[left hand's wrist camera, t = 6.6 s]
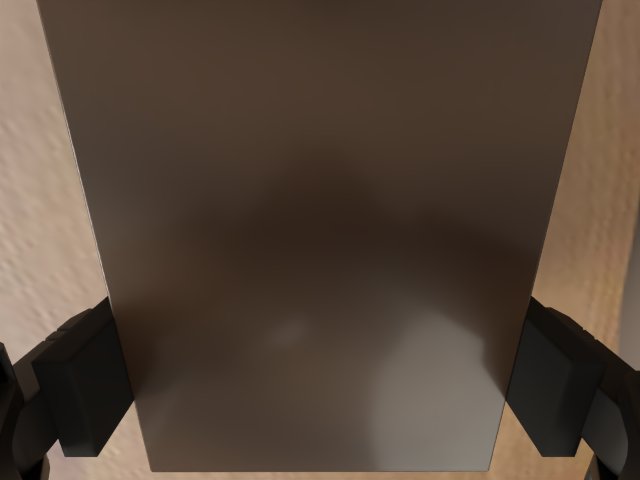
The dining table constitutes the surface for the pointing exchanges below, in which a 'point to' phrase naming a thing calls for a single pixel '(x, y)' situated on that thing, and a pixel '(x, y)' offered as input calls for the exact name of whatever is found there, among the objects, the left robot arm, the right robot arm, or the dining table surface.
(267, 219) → the cabinet
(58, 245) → the dining table surface
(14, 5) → the dining table surface
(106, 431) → the left robot arm
